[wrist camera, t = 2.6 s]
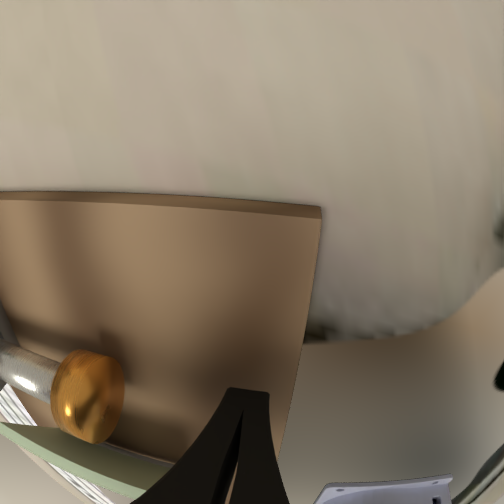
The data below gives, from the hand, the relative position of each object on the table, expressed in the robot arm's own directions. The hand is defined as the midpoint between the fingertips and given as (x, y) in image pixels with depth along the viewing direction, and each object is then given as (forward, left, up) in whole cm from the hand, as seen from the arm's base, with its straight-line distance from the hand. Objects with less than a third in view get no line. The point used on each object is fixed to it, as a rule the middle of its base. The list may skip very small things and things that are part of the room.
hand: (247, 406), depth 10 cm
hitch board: (+7, +5, -2) cm, 9 cm away
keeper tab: (+8, +6, +1) cm, 10 cm away
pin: (+9, 0, 0) cm, 9 cm away
